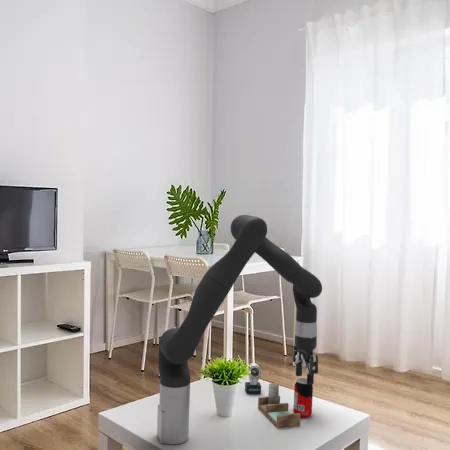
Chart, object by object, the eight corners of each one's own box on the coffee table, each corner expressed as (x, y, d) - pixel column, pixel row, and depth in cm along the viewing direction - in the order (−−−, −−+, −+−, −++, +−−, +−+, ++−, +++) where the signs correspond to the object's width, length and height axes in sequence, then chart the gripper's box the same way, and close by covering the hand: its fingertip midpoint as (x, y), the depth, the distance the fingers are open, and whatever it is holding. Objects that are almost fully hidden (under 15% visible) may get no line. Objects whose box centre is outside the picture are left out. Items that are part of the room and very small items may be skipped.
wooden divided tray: (277, 428, 166) (278, 399, 165) (257, 408, 182) (258, 381, 182) (299, 426, 168) (301, 397, 168) (278, 406, 185) (279, 380, 184)
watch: (247, 396, 193) (248, 367, 193) (244, 388, 201) (245, 360, 201) (262, 395, 194) (263, 367, 193) (258, 388, 202) (259, 360, 201)
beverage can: (309, 420, 174) (311, 385, 173) (291, 416, 176) (292, 382, 175) (313, 413, 179) (314, 379, 179) (295, 410, 182) (296, 376, 181)
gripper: (287, 329, 182) (285, 374, 183) (305, 339, 168) (304, 388, 169) (306, 328, 184) (304, 372, 185) (325, 338, 171) (324, 386, 171)
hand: (304, 380), depth 177 cm, fingers open, 8 cm apart
